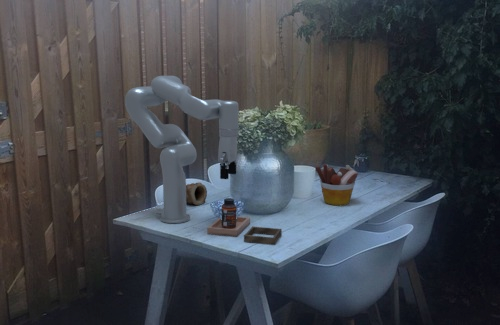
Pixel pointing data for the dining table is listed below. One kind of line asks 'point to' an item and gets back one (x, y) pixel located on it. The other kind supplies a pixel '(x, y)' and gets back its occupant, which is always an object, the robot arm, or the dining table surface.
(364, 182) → the dining table surface
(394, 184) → the dining table surface
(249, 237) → the frame
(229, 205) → the supplement bottle
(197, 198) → the clay pipe
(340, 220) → the dining table surface
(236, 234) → the tray
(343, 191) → the bucket of meat
